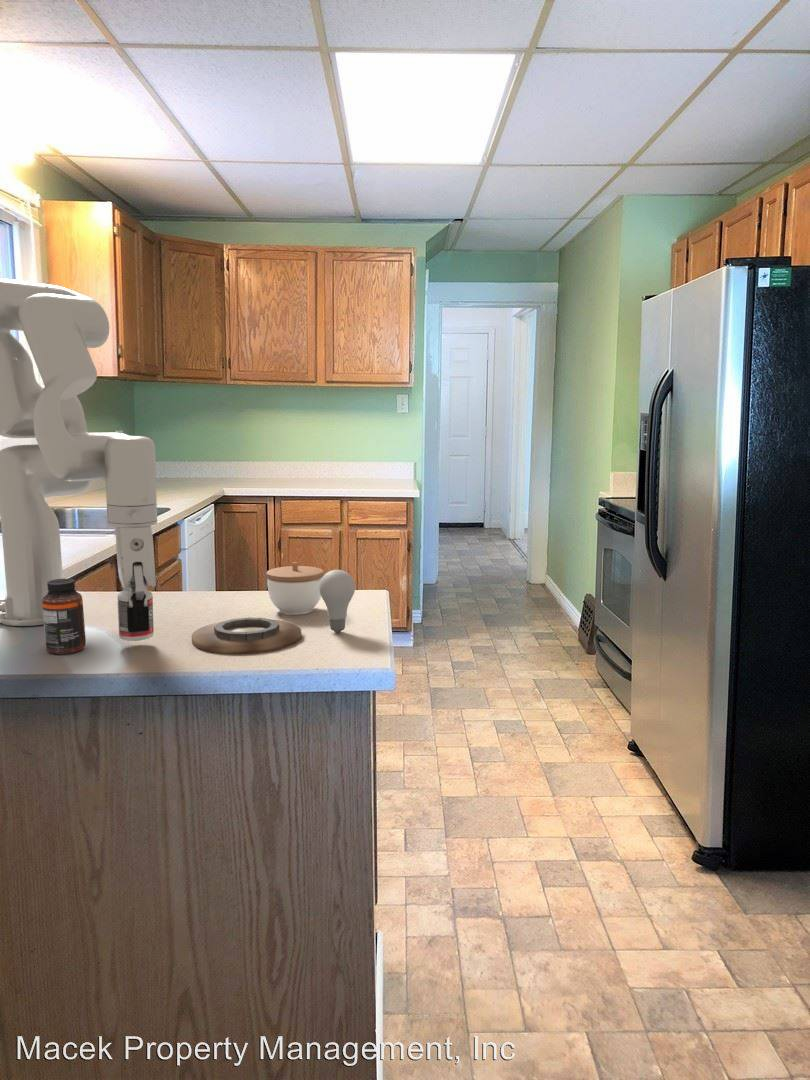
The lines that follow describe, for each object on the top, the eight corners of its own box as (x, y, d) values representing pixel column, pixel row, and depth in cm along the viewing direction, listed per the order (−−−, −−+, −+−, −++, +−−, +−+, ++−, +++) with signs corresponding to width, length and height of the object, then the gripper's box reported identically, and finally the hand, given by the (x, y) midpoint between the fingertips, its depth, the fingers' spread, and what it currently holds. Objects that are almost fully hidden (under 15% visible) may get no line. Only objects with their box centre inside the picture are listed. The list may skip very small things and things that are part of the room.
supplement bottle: (74, 642, 136) (69, 575, 134) (93, 649, 132) (89, 580, 131) (38, 651, 132) (33, 581, 130) (57, 658, 128) (52, 586, 126)
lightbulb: (323, 638, 138) (322, 574, 137) (316, 629, 144) (315, 567, 142) (359, 636, 140) (358, 572, 138) (351, 626, 146) (350, 565, 144)
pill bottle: (158, 638, 133) (156, 579, 132) (124, 643, 130) (121, 583, 129) (148, 630, 138) (146, 573, 136) (115, 635, 135) (112, 576, 133)
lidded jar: (335, 610, 158) (335, 562, 156) (291, 621, 150) (290, 570, 149) (300, 601, 165) (299, 555, 164) (256, 611, 157) (254, 562, 156)
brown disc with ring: (203, 659, 127) (202, 645, 127) (183, 631, 143) (182, 618, 143) (315, 645, 134) (315, 632, 134) (284, 620, 151) (284, 608, 150)
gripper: (164, 521, 124) (168, 638, 128) (149, 507, 140) (153, 611, 143) (112, 524, 121) (116, 643, 124) (102, 508, 137) (107, 614, 140)
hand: (136, 624), depth 134 cm, fingers closed on pill bottle, 5 cm apart
